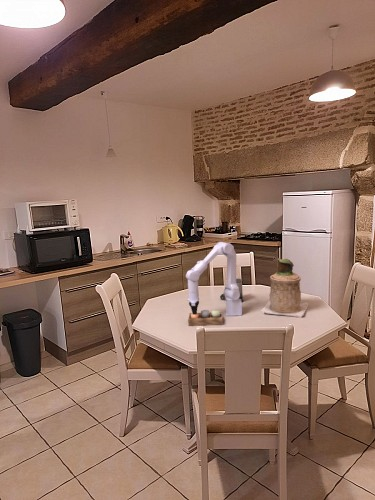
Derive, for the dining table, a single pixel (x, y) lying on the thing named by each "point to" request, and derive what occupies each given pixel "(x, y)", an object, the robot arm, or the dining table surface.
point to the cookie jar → (285, 292)
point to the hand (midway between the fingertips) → (194, 314)
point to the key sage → (215, 313)
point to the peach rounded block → (195, 315)
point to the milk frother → (239, 284)
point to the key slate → (205, 314)
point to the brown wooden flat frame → (205, 320)
